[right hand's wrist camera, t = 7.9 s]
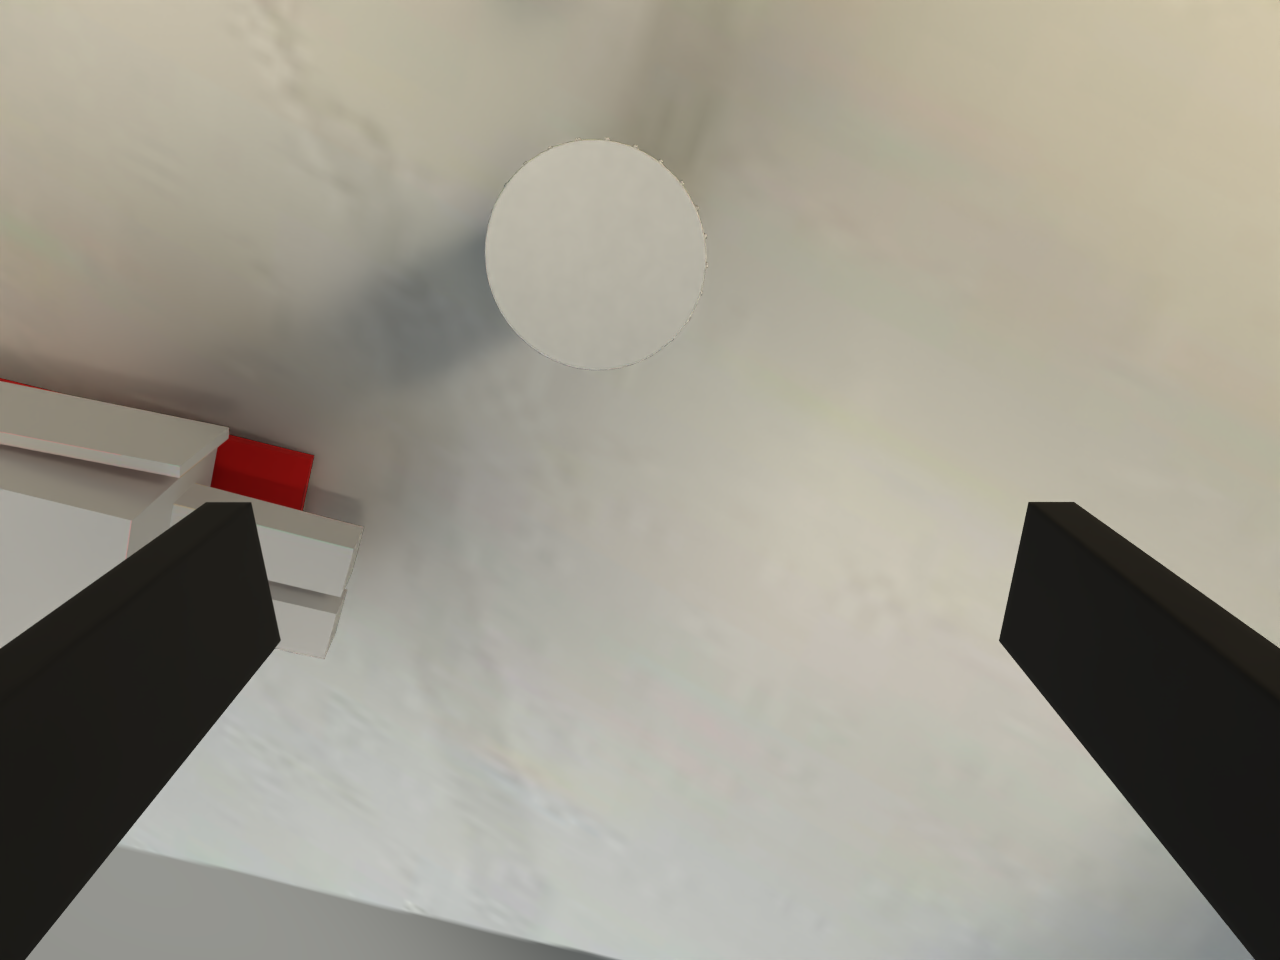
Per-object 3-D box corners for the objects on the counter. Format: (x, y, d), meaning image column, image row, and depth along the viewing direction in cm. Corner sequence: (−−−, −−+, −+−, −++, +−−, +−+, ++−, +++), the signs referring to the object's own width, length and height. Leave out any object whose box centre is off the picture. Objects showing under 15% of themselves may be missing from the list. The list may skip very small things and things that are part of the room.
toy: (282, 773, 32) (-663, 610, 24) (353, 603, 44) (-261, 460, 36) (344, 539, 28) (-769, 256, 20) (403, 423, 40) (-277, 219, 32)
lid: (684, 117, 19) (687, 111, 17) (720, 339, 21) (726, 349, 20) (468, 166, 19) (453, 165, 18) (524, 378, 21) (515, 392, 20)
